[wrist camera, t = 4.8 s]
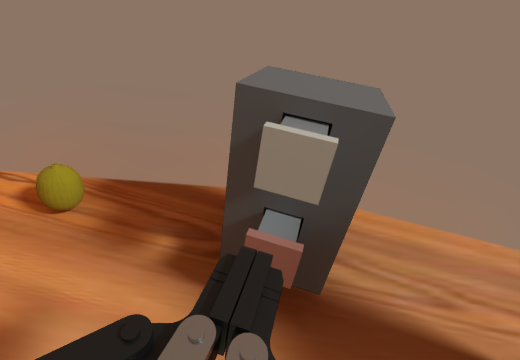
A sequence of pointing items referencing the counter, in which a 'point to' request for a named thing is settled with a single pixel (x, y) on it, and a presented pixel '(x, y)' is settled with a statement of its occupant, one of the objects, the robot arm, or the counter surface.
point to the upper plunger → (295, 158)
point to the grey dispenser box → (340, 174)
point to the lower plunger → (278, 242)
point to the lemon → (60, 187)
